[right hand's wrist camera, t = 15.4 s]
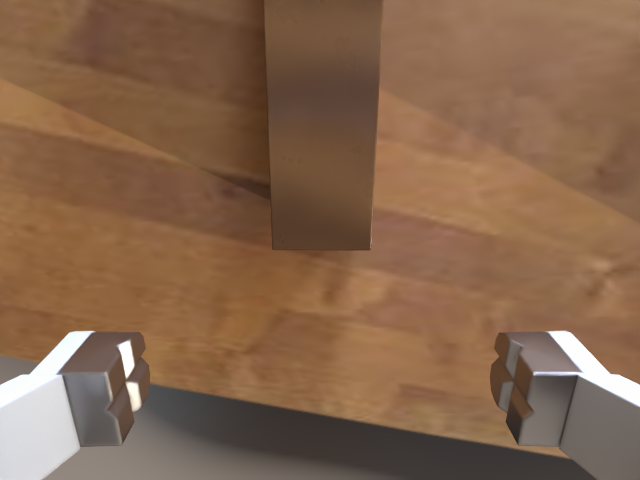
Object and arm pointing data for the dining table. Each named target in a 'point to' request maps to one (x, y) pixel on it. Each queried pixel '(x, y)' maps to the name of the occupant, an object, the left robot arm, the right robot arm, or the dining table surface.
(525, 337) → the right robot arm
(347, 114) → the box
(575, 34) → the dining table surface
